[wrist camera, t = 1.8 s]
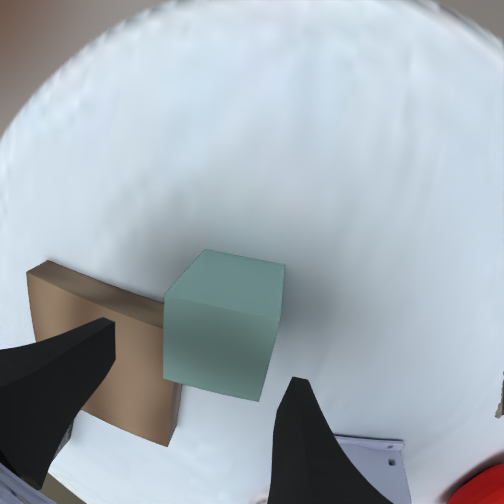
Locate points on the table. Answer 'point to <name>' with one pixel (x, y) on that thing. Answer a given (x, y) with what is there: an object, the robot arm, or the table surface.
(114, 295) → the walnut slab
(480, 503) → the tomato
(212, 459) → the table surface
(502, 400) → the gnarled brown figurine
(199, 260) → the teal block
